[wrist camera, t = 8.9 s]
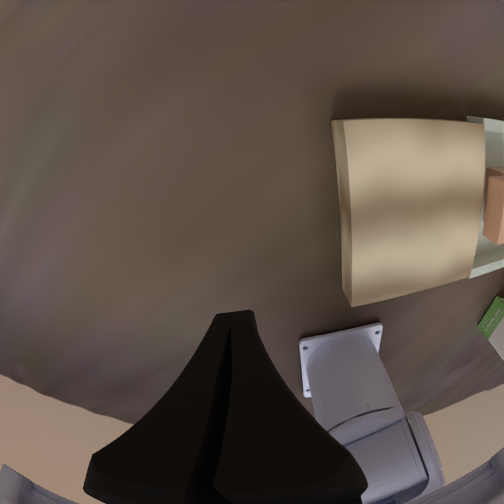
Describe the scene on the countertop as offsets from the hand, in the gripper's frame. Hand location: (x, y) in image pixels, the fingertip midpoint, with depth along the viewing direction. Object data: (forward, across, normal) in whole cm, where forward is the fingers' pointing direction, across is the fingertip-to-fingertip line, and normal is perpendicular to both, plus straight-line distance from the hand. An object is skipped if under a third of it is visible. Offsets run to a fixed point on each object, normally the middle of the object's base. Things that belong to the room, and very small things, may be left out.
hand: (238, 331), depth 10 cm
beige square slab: (+10, -13, 0) cm, 17 cm away
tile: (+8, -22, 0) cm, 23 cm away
